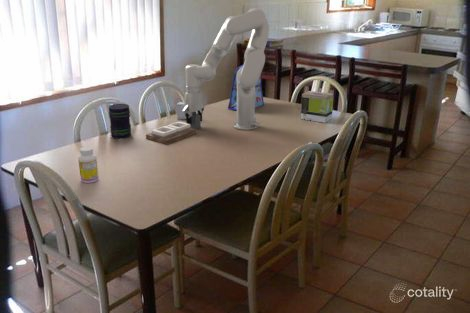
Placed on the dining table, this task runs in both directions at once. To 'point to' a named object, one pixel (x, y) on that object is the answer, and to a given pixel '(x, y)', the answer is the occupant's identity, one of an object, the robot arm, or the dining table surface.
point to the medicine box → (180, 111)
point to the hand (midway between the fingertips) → (194, 122)
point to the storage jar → (120, 121)
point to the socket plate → (170, 129)
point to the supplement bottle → (88, 165)
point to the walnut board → (173, 137)
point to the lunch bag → (233, 94)
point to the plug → (195, 121)
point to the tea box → (317, 106)
